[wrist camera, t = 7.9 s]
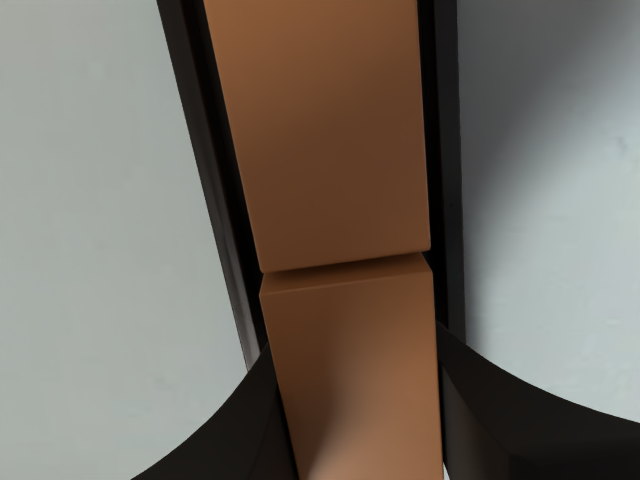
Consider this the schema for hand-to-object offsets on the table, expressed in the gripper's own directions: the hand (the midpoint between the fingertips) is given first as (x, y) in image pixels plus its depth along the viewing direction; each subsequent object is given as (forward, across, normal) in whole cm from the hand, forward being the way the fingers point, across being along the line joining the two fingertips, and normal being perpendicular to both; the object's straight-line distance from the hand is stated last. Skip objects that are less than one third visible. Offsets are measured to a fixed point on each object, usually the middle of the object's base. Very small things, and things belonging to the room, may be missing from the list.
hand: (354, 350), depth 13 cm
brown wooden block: (+2, 0, -8) cm, 8 cm away
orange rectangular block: (+2, 0, 0) cm, 2 cm away
